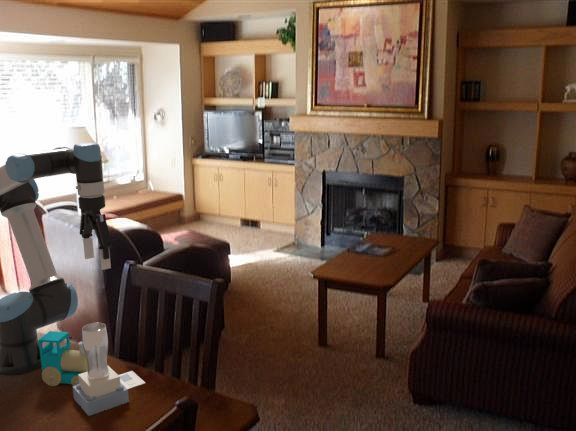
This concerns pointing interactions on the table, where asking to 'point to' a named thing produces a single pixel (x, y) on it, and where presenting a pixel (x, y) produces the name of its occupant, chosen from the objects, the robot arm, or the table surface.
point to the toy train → (61, 360)
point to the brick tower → (100, 393)
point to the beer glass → (95, 350)
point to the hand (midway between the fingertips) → (97, 263)
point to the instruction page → (130, 380)
